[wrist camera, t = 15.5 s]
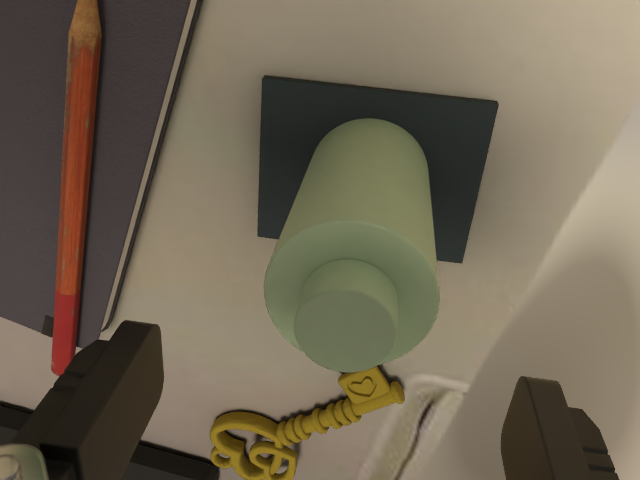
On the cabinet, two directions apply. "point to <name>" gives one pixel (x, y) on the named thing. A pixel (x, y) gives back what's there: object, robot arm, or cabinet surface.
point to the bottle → (357, 251)
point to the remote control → (145, 464)
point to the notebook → (107, 151)
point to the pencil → (75, 176)
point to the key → (298, 426)
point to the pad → (390, 105)
